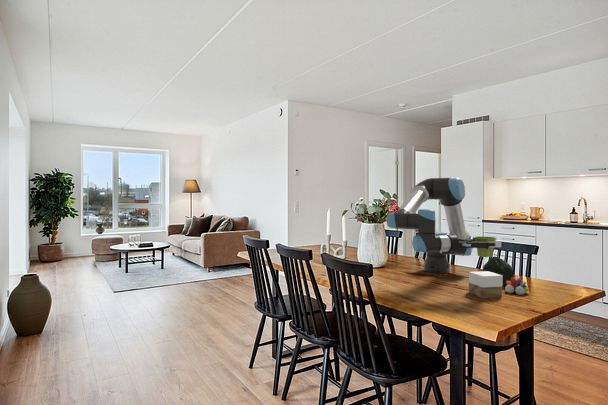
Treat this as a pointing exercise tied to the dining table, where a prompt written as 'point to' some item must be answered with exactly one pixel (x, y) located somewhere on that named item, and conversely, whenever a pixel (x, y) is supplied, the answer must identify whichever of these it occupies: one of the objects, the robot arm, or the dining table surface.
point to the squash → (499, 268)
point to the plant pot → (484, 251)
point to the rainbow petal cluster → (516, 286)
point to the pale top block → (486, 279)
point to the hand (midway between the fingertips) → (495, 243)
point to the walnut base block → (485, 291)
